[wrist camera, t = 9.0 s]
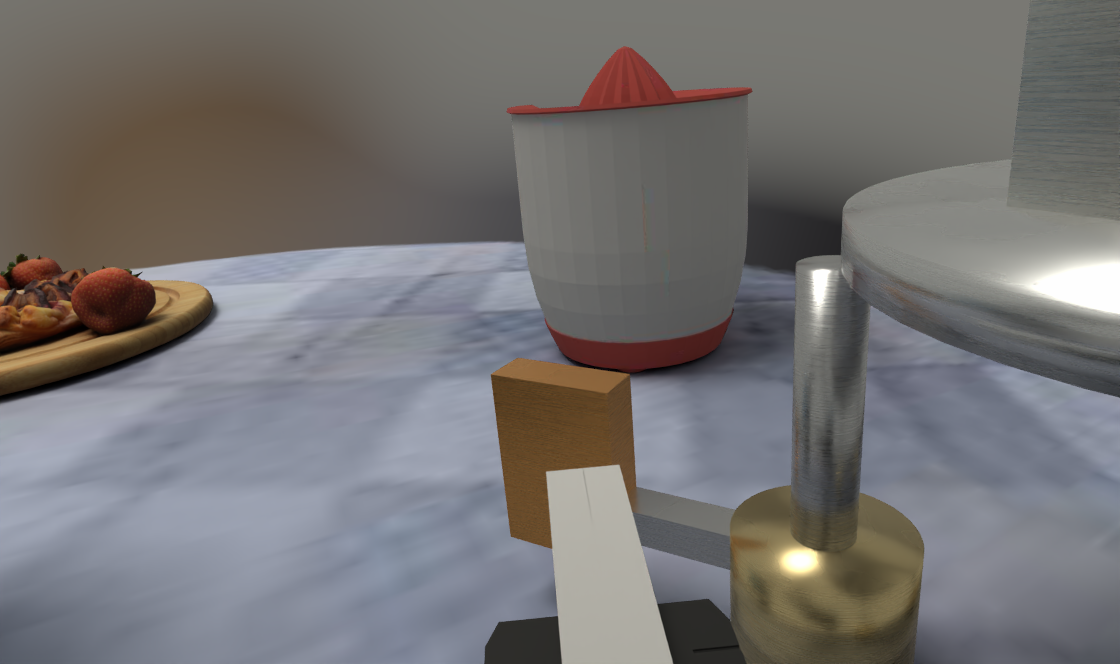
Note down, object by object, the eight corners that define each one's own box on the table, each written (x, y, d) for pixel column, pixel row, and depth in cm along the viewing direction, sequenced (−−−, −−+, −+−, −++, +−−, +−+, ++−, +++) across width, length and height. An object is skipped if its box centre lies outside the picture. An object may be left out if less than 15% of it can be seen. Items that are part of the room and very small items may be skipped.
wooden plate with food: (286, 313, 69) (267, 226, 66) (-156, 464, 44) (-213, 335, 42) (115, 292, 86) (95, 223, 84) (-271, 392, 61) (-317, 298, 59)
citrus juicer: (639, 294, 64) (628, 51, 58) (800, 342, 50) (808, 28, 44) (481, 339, 56) (447, 63, 50) (619, 410, 42) (596, 40, 36)
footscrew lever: (920, 642, 23) (959, 245, 19) (896, 772, 19) (939, 302, 15) (563, 539, 30) (534, 229, 26) (488, 619, 26) (438, 266, 22)
